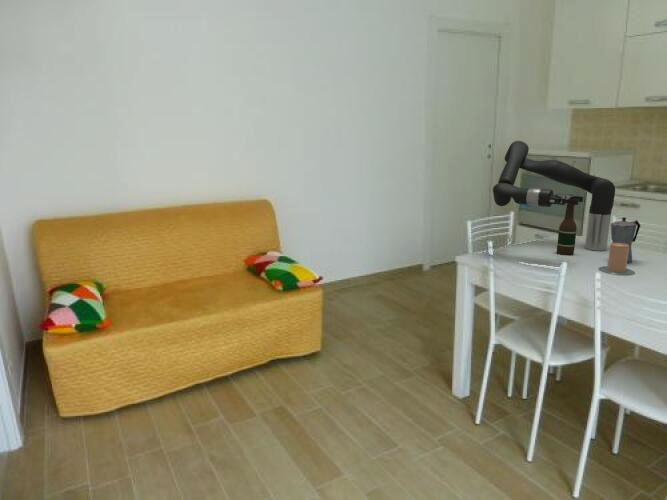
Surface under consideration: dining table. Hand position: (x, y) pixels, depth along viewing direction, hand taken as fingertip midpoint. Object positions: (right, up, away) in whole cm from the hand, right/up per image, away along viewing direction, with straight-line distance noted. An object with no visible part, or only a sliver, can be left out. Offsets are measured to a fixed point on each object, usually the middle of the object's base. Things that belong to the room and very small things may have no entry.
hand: (580, 200), depth 202 cm
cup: (+13, -29, -3) cm, 32 cm away
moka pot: (+23, -26, +12) cm, 37 cm away
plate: (+13, -29, -2) cm, 32 cm away
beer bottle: (+6, -22, +26) cm, 35 cm away
